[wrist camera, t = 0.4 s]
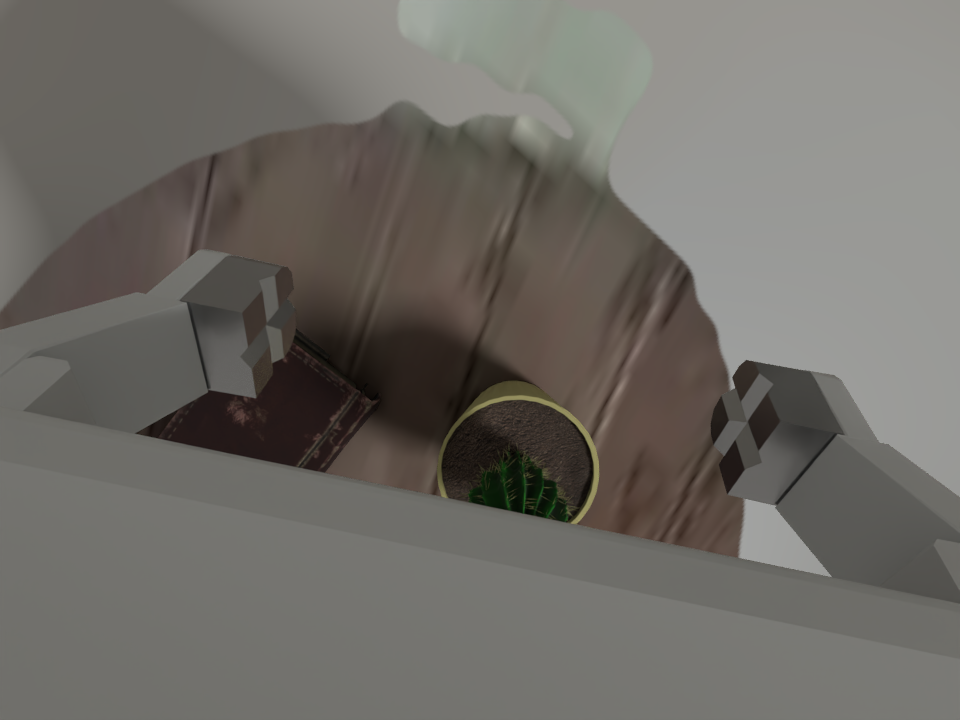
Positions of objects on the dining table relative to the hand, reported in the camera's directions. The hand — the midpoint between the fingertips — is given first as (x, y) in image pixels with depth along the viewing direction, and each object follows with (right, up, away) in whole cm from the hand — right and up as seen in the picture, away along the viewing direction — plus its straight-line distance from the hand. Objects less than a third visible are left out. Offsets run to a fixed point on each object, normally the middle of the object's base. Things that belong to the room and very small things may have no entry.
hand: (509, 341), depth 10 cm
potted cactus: (+4, -8, +56) cm, 57 cm away
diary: (-27, -8, +58) cm, 64 cm away
